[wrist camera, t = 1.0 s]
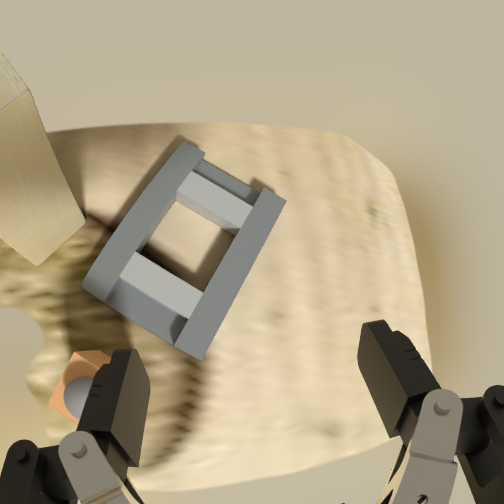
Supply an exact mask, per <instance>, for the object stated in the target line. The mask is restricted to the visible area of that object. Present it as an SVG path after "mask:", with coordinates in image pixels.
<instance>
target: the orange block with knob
mask: <svg viewBox="0 0 504 504" xmlns="http://www.w3.org/2000/svg"><path fill="white" fill-rule="evenodd" d="M110 361H111V357H110V356H108V355H107V354H105V353H104V352H102V351H101V350H90V351H75V352H74V353H73V355H72V357H71V359H70V361H69V362H68V364H67V366H66V368H65V370H64V372H63V374H62V376H61V378H60V380H59V382H58V384H57V386H56V388H55V390H54V393H53V395H52V397H51V399H50V401H49V403H48V405H49V406H51V407H52V408H53V409H55V410H56V411H58V412H59V413H60V414H62V415H63V416H65V417H66V418H68V419H69V420H71V421H72V422H74V423H75V424H77V425H78V424H79V420H80V417H81V414H82V411H83V408H84V405H85V402H86V399H87V396H88V393H89V390H90V387H91V384H92V381H93V378H94V376H95V373H96V372H97V371H98V370H99V369H100V367H101V366H102V365H103V364H110Z"/></svg>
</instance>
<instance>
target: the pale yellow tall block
mask: <svg viewBox="0 0 504 504" xmlns="http://www.w3.org/2000/svg"><path fill="white" fill-rule="evenodd" d="M85 222H86V220H85V218H84V216H83V214H82V212H81V210H80V208H79V206H78V204H77V202H76V200H75V198H74V195H73V193H72V191H71V189H70V187H69V185H68V183H67V181H66V178H65V176H64V174H63V172H62V170H61V167H60V165H59V163H58V161H57V158H56V156H55V154H54V151H53V149H52V146H51V144H50V141H49V139H48V136H47V134H46V131H45V129H44V126H43V124H42V121H41V118H40V116H39V113H38V110H37V108H36V105H35V102H34V99H33V97H32V94H31V92H30V90H29V88H28V87H27V85H26V84H25V83H24V82H23V80H22V79H21V77H20V76H19V75H18V73H17V72H16V71H15V69H14V68H13V67H12V65H11V64H10V63H9V61H8V60H7V58H6V57H5V56H4V55H3V54H0V238H1V239H2V240H4V241H5V242H6V243H7V244H9V245H10V246H11V247H12V248H13V249H15V250H16V251H17V252H18V253H20V254H21V255H22V256H24V257H25V258H26V259H27V260H29V261H30V262H31V263H33V264H34V265H35V266H39V265H40V264H41V263H42V262H44V261H45V260H46V259H47V258H48V257H49V256H50V255H51V254H52V253H53V252H54V251H55V250H56V249H57V248H58V247H59V246H61V245H62V244H63V243H64V242H65V241H66V240H67V239H68V238H69V237H70V236H72V235H73V234H74V233H75V232H76V231H77V230H78V229H79V228H81V227H82V226H83V225H84V224H85Z"/></svg>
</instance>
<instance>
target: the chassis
mask: <svg viewBox="0 0 504 504" xmlns="http://www.w3.org/2000/svg"><path fill="white" fill-rule="evenodd" d="M204 155H205V152H203V151H202V150H200V149H198V148H196V147H194V146H193V145H191V144H189V143H187V142H185V141H183V142H182V143H181V145H180V146H179V147H178V148H177V149H176V151H175V152H174V153H173V154H172V155H171V157H170V158H169V159H168V160H167V162H166V163H165V164H164V165H163V167H162V168H161V169H160V170H159V172H158V173H157V174H156V176H155V177H154V178H153V179H152V181H151V182H150V183H149V185H148V186H147V187H146V189H145V190H144V191H143V193H142V194H141V195H140V197H139V198H138V199H137V201H136V202H135V203H134V205H133V206H132V208H131V209H130V210H129V212H128V213H127V215H126V216H125V217H124V219H123V220H122V222H121V223H120V225H119V226H118V227H117V229H116V230H115V232H114V233H113V235H112V236H111V238H110V239H109V241H108V242H107V244H106V245H105V247H104V248H103V250H102V251H101V253H100V254H99V256H98V257H97V259H96V260H95V262H94V264H93V265H92V267H91V268H90V270H89V272H88V273H87V275H86V276H85V278H84V280H83V281H82V283H81V285H80V286H81V287H82V288H83V289H85V290H86V291H88V292H89V293H90V294H92V295H93V296H95V297H96V298H98V299H99V300H101V301H102V302H104V303H105V304H107V305H108V306H110V307H111V308H113V309H114V310H116V311H117V312H119V313H120V314H122V315H124V316H125V317H127V318H128V319H130V320H131V321H133V322H135V323H136V324H138V325H140V326H141V327H143V328H144V329H146V330H148V331H149V332H151V333H153V334H154V335H156V336H158V337H159V338H161V339H163V340H165V341H166V342H168V343H170V344H171V345H173V346H175V347H177V348H178V349H180V350H182V351H184V352H186V353H187V354H189V355H191V356H193V357H195V358H197V359H198V360H202V359H203V357H204V355H205V353H206V351H207V349H208V347H209V346H210V344H211V342H212V340H213V338H214V336H215V334H216V333H217V331H218V329H219V327H220V325H221V323H222V321H223V320H224V318H225V316H226V314H227V312H228V310H229V308H230V307H231V305H232V303H233V301H234V299H235V297H236V295H237V293H238V292H239V290H240V288H241V286H242V284H243V282H244V280H245V279H246V277H247V275H248V273H249V271H250V269H251V267H252V265H253V264H254V262H255V260H256V258H257V256H258V254H259V252H260V250H261V249H262V247H263V245H264V243H265V241H266V239H267V237H268V235H269V233H270V232H271V230H272V228H273V226H274V224H275V222H276V220H277V218H278V217H279V215H280V213H281V211H282V209H283V207H284V205H285V203H286V200H285V199H283V198H281V197H280V196H278V195H276V194H275V193H273V192H272V191H270V190H268V189H267V188H265V187H264V189H263V190H262V192H261V193H258V192H257V191H255V190H253V189H252V188H250V187H248V186H247V185H245V184H243V183H242V182H240V181H238V180H236V179H235V178H233V177H231V176H230V175H228V174H226V173H225V172H223V171H221V170H219V169H218V168H216V167H214V166H212V165H211V164H209V163H207V162H205V161H204V160H203V159H204ZM175 200H176V201H177V202H179V203H181V204H183V205H184V206H186V207H188V208H189V209H191V210H193V211H194V212H196V213H198V214H199V215H201V216H203V217H205V218H206V219H208V220H210V221H211V222H213V223H215V224H216V225H218V226H220V227H221V228H223V229H225V230H226V231H228V232H230V233H231V234H233V235H235V237H234V239H233V241H232V242H231V244H230V246H229V248H228V249H227V251H226V253H225V255H224V256H223V258H222V260H221V262H220V263H219V265H218V267H217V268H216V270H215V272H214V274H213V275H212V277H211V279H210V281H209V282H208V284H207V286H206V288H205V290H204V291H203V292H201V291H200V290H198V289H196V288H195V287H193V286H191V285H189V284H188V283H186V282H184V281H183V280H181V279H179V278H178V277H176V276H174V275H173V274H171V273H169V272H168V271H166V270H164V269H163V268H161V267H160V266H158V265H156V264H155V263H153V262H151V261H150V260H148V259H147V258H145V257H143V256H142V255H140V252H141V251H142V249H143V248H144V246H145V245H146V243H147V242H148V240H149V238H150V237H151V235H152V234H153V232H154V231H155V229H156V228H157V226H158V225H159V224H160V222H161V221H162V219H163V218H164V216H165V215H166V213H167V212H168V210H169V209H170V208H171V206H172V205H173V203H174V202H175Z"/></svg>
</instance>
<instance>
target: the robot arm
mask: <svg viewBox="0 0 504 504" xmlns="http://www.w3.org/2000/svg"><path fill="white" fill-rule="evenodd" d="M357 359H358V365H359V369H360V371H361V373H362V376H363V378H364V380H365V382H366V385H367V387H368V389H369V391H370V394H371V396H372V398H373V400H374V403H375V405H376V407H377V410H378V412H379V414H380V417H381V419H382V421H383V424H384V426H385V428H386V431H387V433H388V435H389V438H393V437H396V436H399V435H400V436H401V438H402V441H403V442H402V444H401V446H400V449H399V452H398V455H397V458H396V460H395V463H394V465H393V468H392V470H391V473H390V475H389V478H388V480H387V483H386V485H385V487H384V489H383V491H382V493H381V495H380V497H379V498H378V500H377V502H376V504H448V503H449V499H450V496H451V492H452V489H453V485H454V481H455V478H456V473H457V463H456V462H454V455H457V457H458V459H459V461H460V464H461V467H462V469H463V471H464V474H465V476H466V479H467V482H468V484H469V487H470V489H471V492H472V494H473V497H474V500H475V503H476V504H504V386H501V385H495V386H492V387H489V388H488V389H487V390H486V392H485V394H484V395H483V397H476V398H459V396H458V395H457V394H455V393H454V392H452V391H450V390H446V389H442V388H441V387H440V385H439V384H438V382H437V381H436V379H435V377H434V376H433V374H432V373H431V371H430V369H429V368H428V366H427V365H426V363H425V362H424V360H423V359H421V356H420V354H419V352H418V351H417V350H416V348H415V346H414V345H413V343H412V342H411V340H410V339H409V338H408V337H407V336H405V335H404V334H402V333H401V332H400V331H393V332H392V330H391V329H390V327H389V326H388V324H387V323H386V321H385V320H377V321H372V322H367V323H364V324H363V325H362V329H361V336H360V342H359V348H358V354H357ZM149 397H150V381H149V378H148V375H147V373H146V370H145V368H144V366H143V363H142V361H141V359H140V356H139V354H138V352H137V350H136V349H116V350H115V351H114V352H113V355H112V358H111V361H110V364H103V365H102V366H101V367H100V369H99V370H98V371H97V372H96V373H95V376H94V378H93V381H92V384H91V387H90V390H89V393H88V396H87V399H86V402H85V405H84V408H83V411H82V414H81V417H80V420H79V424H78V427H77V430H76V431H75V432H72V433H70V434H68V435H66V436H65V437H64V438H63V439H62V441H61V443H60V445H56V446H50V447H44V448H38V447H37V446H36V445H35V444H34V443H33V442H32V441H29V440H19V441H17V442H15V443H14V444H13V445H12V446H11V447H10V448H9V450H8V452H7V455H6V459H5V462H4V465H3V469H2V472H1V476H0V504H77V501H78V499H79V500H80V502H81V504H146V502H145V501H144V500H143V498H142V497H141V495H140V494H139V492H138V491H137V490H136V488H135V487H134V485H133V484H132V482H131V481H130V479H129V478H128V476H127V469H128V466H129V467H139V460H140V453H141V446H142V439H143V433H144V426H145V420H146V414H147V408H148V403H149ZM343 504H344V503H343Z"/></svg>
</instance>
